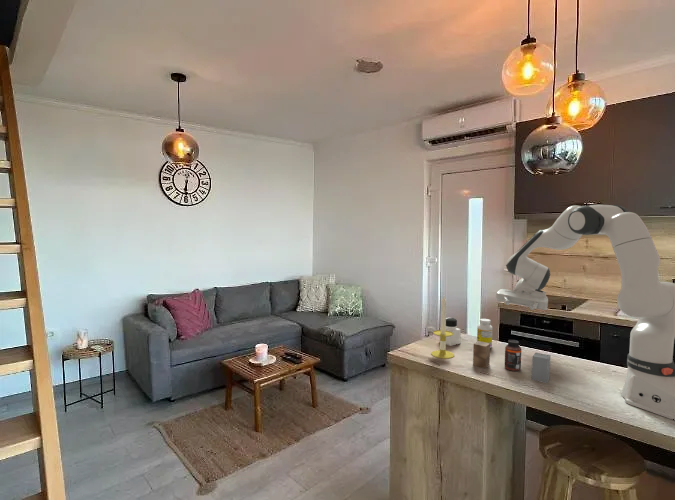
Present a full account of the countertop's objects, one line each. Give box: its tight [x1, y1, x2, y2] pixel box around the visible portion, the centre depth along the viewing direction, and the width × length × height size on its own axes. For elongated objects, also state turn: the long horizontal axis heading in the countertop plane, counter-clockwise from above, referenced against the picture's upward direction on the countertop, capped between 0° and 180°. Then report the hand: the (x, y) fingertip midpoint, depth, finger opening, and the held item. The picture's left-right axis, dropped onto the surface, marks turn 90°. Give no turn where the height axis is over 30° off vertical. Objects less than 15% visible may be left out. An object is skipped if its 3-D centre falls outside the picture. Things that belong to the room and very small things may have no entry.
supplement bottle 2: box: [504, 339, 522, 372], centre depth 154 cm, size 6×6×11 cm
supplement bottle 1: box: [476, 318, 493, 349], centre depth 181 cm, size 7×7×13 cm
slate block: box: [531, 352, 552, 384], centre depth 144 cm, size 5×5×9 cm
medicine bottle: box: [439, 317, 462, 347], centre depth 187 cm, size 7×7×12 cm
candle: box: [430, 295, 455, 360], centre depth 170 cm, size 10×10×27 cm
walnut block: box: [472, 340, 491, 369], centre depth 158 cm, size 5×5×9 cm
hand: (519, 305), depth 160 cm, fingers open, 8 cm apart
